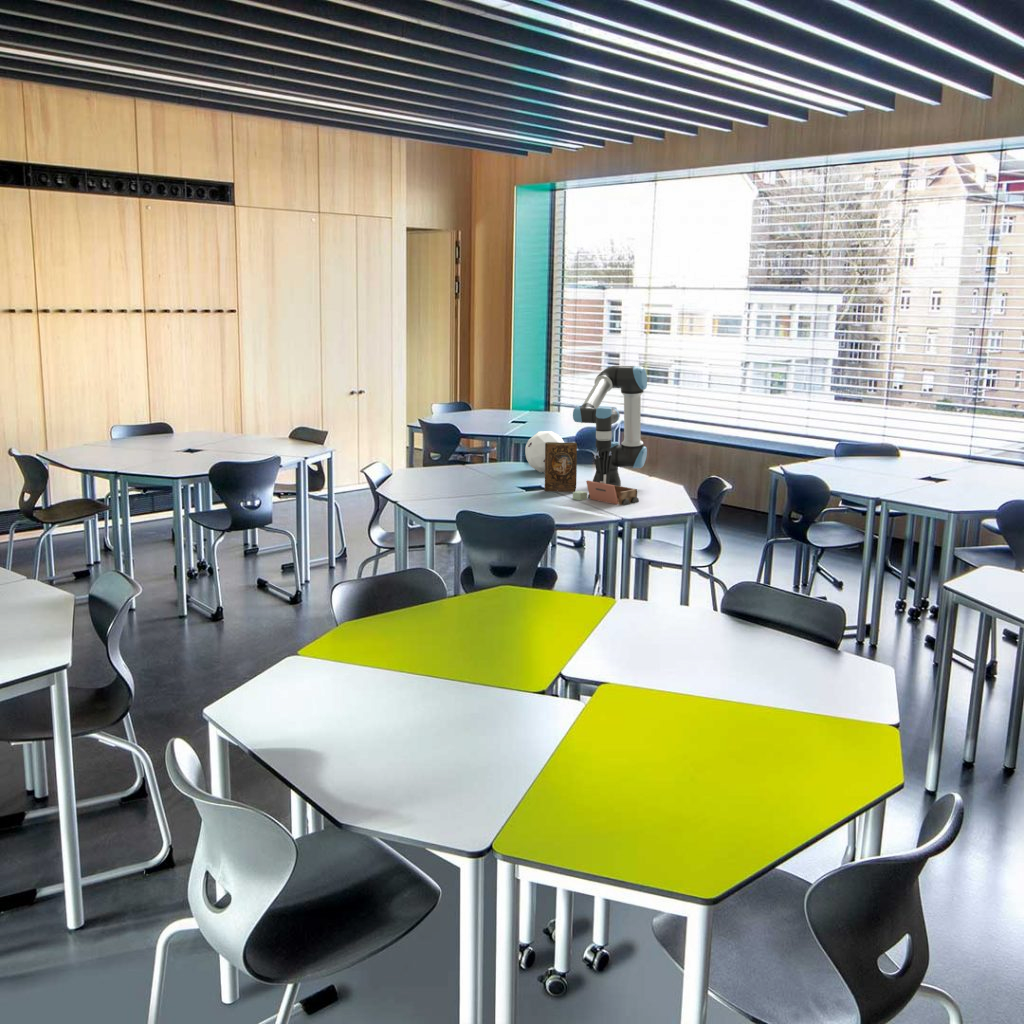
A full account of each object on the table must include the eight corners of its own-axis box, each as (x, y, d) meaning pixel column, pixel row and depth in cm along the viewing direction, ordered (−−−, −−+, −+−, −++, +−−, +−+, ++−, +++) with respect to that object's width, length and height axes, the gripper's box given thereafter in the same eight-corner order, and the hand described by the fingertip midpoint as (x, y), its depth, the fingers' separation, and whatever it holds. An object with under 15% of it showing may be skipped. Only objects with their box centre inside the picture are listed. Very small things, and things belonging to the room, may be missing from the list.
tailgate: (591, 498, 487) (587, 480, 483) (618, 503, 475) (614, 485, 471) (590, 499, 487) (585, 481, 482) (616, 504, 475) (612, 486, 470)
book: (544, 491, 513) (544, 443, 508) (544, 489, 518) (545, 442, 513) (575, 492, 511) (576, 444, 506) (576, 490, 517) (577, 442, 511)
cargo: (579, 500, 492) (579, 490, 491) (587, 502, 488) (587, 492, 487) (572, 501, 488) (572, 492, 487) (580, 503, 485) (580, 493, 484)
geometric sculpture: (543, 466, 588) (568, 434, 581) (555, 488, 568) (581, 455, 561) (511, 448, 576) (536, 415, 568) (522, 469, 556) (548, 436, 548)
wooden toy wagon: (603, 497, 498) (603, 483, 497) (639, 504, 482) (639, 489, 480) (587, 501, 490) (587, 486, 488) (623, 508, 474) (624, 492, 472)
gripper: (606, 436, 480) (605, 484, 485) (588, 440, 471) (588, 488, 477) (618, 438, 475) (617, 486, 480) (600, 441, 466) (600, 490, 472)
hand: (602, 487), depth 479 cm, fingers closed
